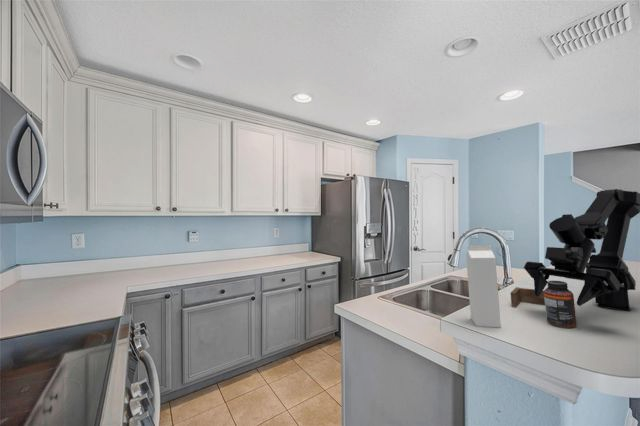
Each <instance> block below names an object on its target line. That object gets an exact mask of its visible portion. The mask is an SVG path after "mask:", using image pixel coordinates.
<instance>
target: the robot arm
mask: <svg viewBox="0 0 640 426" xmlns="http://www.w3.org/2000/svg"><path fill="white" fill-rule="evenodd" d="M638 214H640V192H638V191H631V190H630V191H628V190H622V189H619V188H615V189H613V188H612V189H605V190H603V189H602V190H600V191H597V193H596V197H595V199H594V200H593V201H592V203H591V204H590V205H589V207H588V208H587V209H586V211H585V212H584V213H583V214H580V215H578V216H576V217H574V216H573V214H568V213H567V214H562V216H561V217H557V218H556V219H554V220H552V221H551V222H550V223H549V229H550V230H551V231H552V233H553V234H554V235H555V238H557V240H558V241H559V243H561V244H564V247H553V246H547V247H546V250H545V256H544V259H546V260H549V261H550V265H551V266H552V267H554V268H552V267H546V265H545V264H544V263H543V262H538V261H526V262H525V263H524V265H523V269H524V270H525V271H526V272H527V274H528V275H529V276H530V278H532V280H533V286H534V288H533V289H535V295H536V296H537V297H538V296H539V295H540V294H541V293H542V291H544V290H545V289H546V287H547V286H548V283H547V282H548V280H549V278H550V276H553V277H558V278H566V279H570V280H571V279H572V280H576V281H584V283H583V286H582V287H581V288H582V289H581V290H580V293H579V295H578V296H577V297H578V298H577V301H576V304H577V306H579V307H582V306H583V305H584V304H586V303H588V302H589V301H591V300H593V299H594V298H595V299H594V301H595V303H596V304H597V307H600V308H607V309H615V310H620V311H621V310H623V311H628V312H630V311H631V307H630V299H629V291H631V290H632V291H635V290H637V289H636V285H637V283H636V280H635V279H634V277H633V276H632V274H631V272H630V271H629V267H628V265H627V264H626V262H625V261H624V259H623V257H624V251H625V246H626V244H627V243H626V242H627V238H628V233H629V230H630V229H629V228H630V223H631V220H632V218H634V217H636V216H637V215H638ZM594 240H600V241H601V240H602V241H601V246H600V247H601V248H600V251H599V253H597V250H596V248H595V243H594V242H593V241H594ZM596 253H597V254H596Z"/></svg>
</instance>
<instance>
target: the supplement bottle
mask: <svg viewBox="0 0 640 426" xmlns="http://www.w3.org/2000/svg"><path fill="white" fill-rule="evenodd" d="M568 288H569V287H568V283H567V282H566V281H562V280H547V286H546V287H545V288H544V289H543V291H544V299H545V305H544V308H545V318H546V321H547V323H548V324H549V325H551V326H555V327H559V328H565V329H571V328H575V327H577V315H576V307H575V305H576V303H575V298H574V297H575V296H574V293H573V292H572V291H571V290H570V289H568Z"/></svg>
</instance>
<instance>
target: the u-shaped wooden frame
mask: <svg viewBox="0 0 640 426" xmlns="http://www.w3.org/2000/svg"><path fill="white" fill-rule="evenodd" d="M510 303H511V307H512V308H517V307H518V306H519V304H520V303H528V304H533V305H540V306H545V299H544V290H543V291H542V293H541V294H540V295H539V296H538V297H537V296H536V295H535V289H534V288H525V287H517V286H516V287H515V288H514V289H513V290H512V291H511V292H510Z"/></svg>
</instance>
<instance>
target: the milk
mask: <svg viewBox="0 0 640 426" xmlns="http://www.w3.org/2000/svg"><path fill="white" fill-rule="evenodd" d="M465 257H466V258H465V259H466V260H465V261H466V271H467V285H468V297H469V308H470V309H469V311H470V313H469V314H470V320H472V323H474V325H475V326H476V327H483V328H484V327H485V328H486V327H487V328H502V323H501V322H502V321H501V309H500V299H499V298H500V297H499V296H500V295H499V287H498V272H497V261H496V260H497V259H496V256H495V253H494V252H493V249H492V245H490V244H476V245H475V244H474V245H473V244H472V245H471V244H470V245H467V252H466V255H465Z"/></svg>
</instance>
